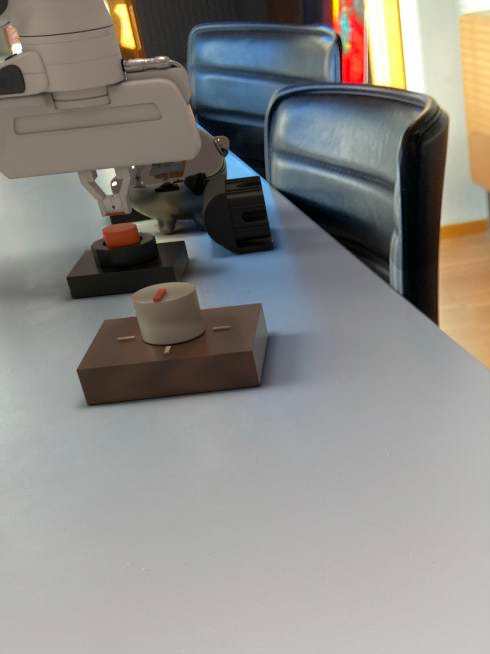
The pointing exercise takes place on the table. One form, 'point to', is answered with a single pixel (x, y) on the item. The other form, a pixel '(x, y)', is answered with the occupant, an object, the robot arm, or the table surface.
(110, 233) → the button
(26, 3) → the robot arm
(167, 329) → the dial knob
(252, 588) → the table surface
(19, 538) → the table surface
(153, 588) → the table surface
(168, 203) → the piggy bank
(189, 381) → the dial panel
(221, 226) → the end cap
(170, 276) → the box
